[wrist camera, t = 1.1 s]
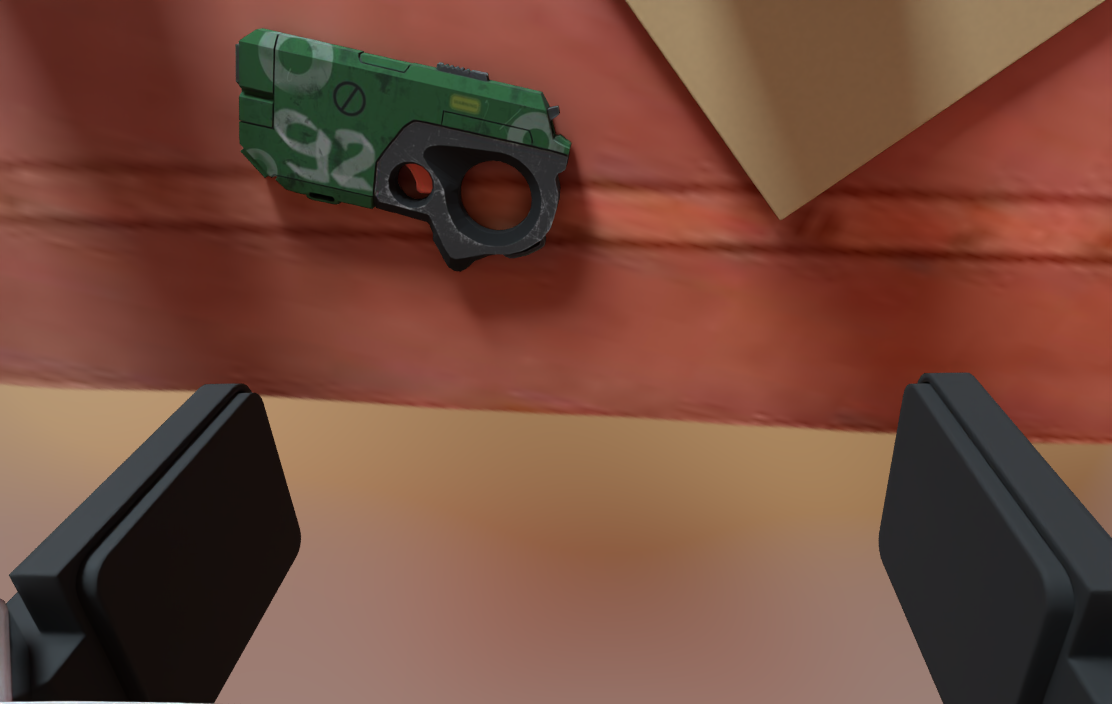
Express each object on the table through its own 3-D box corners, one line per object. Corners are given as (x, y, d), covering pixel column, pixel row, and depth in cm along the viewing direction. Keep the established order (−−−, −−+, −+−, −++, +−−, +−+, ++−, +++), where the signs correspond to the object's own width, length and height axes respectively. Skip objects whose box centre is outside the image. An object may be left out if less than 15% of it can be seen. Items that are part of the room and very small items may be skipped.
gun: (235, 224, 38) (233, 18, 34) (247, 216, 40) (248, 17, 35) (539, 293, 38) (580, 97, 34) (542, 282, 40) (582, 93, 35)
